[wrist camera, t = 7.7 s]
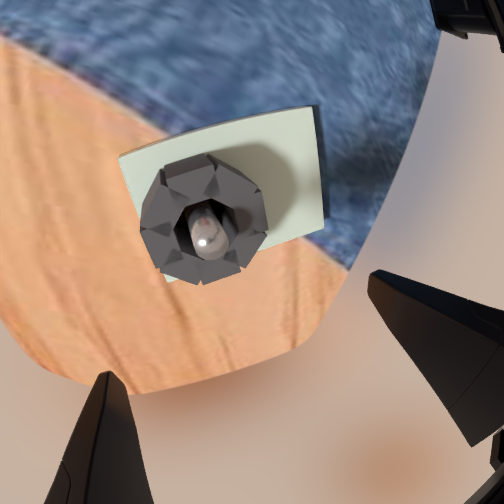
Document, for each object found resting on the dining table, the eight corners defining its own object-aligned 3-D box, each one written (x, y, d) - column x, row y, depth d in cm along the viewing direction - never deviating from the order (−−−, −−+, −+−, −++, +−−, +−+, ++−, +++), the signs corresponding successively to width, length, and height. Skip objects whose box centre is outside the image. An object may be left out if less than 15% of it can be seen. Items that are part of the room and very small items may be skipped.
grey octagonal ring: (236, 143, 15) (254, 152, 13) (256, 235, 19) (273, 259, 16) (130, 177, 14) (124, 194, 12) (165, 266, 18) (169, 296, 15)
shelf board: (302, 105, 16) (311, 106, 16) (316, 221, 22) (324, 227, 21) (120, 154, 14) (117, 158, 14) (166, 273, 20) (167, 282, 19)
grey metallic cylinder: (202, 186, 17) (224, 224, 12) (208, 208, 18) (232, 253, 13) (178, 194, 17) (190, 235, 12) (185, 216, 18) (200, 264, 13)
